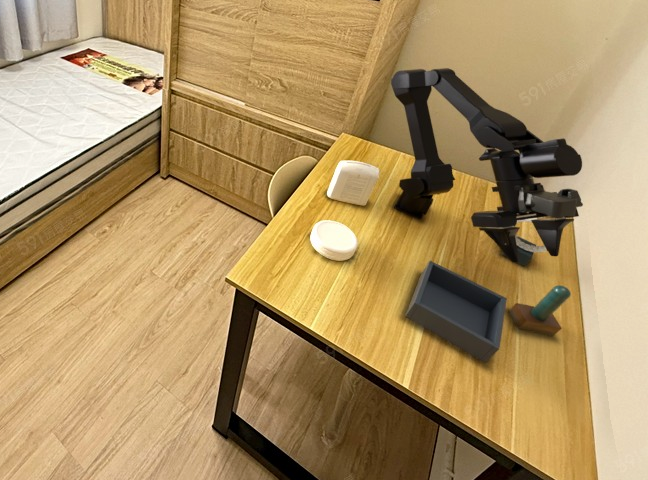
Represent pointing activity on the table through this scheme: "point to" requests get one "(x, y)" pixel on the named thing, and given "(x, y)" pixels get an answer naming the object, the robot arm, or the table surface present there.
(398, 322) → the table surface
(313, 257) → the table surface
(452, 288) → the basket
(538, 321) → the teal handled stamp
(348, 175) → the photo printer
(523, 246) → the watch
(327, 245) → the white thick round disc
